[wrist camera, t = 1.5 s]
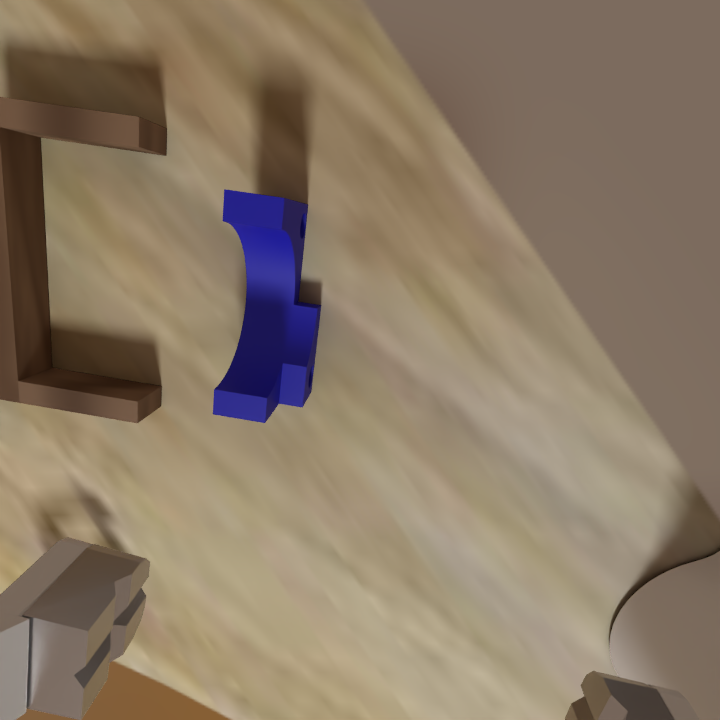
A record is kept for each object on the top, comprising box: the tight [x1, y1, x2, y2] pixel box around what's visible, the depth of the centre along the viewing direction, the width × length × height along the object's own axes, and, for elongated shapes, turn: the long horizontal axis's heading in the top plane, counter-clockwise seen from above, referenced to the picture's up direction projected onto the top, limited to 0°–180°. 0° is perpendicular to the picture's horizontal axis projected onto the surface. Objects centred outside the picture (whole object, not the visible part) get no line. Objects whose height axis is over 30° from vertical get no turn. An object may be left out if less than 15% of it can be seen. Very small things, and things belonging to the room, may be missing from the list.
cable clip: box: [213, 189, 321, 423], centre depth 27 cm, size 12×4×6 cm, turn 172°
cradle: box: [0, 97, 167, 423], centre depth 29 cm, size 10×18×3 cm, turn 172°
